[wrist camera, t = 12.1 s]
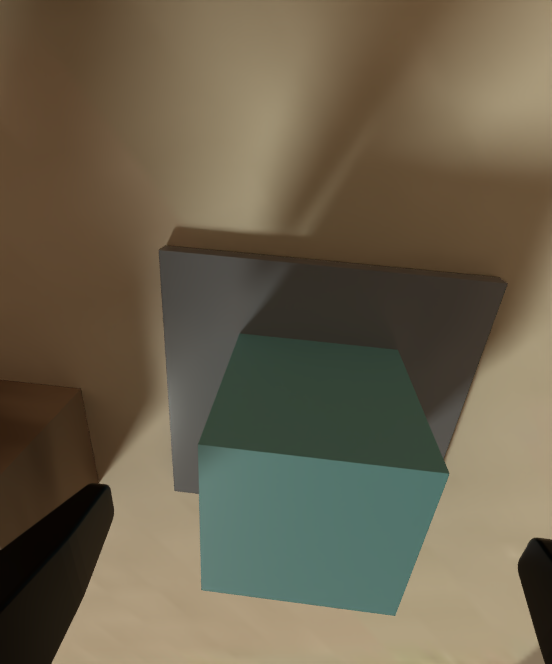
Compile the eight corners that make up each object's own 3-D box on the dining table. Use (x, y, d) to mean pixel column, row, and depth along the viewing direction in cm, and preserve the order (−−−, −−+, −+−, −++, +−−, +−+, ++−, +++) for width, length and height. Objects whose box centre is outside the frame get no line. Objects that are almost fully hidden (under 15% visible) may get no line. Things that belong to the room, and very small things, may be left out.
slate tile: (178, 480, 15) (174, 490, 14) (165, 245, 10) (158, 250, 10) (417, 509, 14) (420, 521, 14) (499, 277, 10) (507, 283, 10)
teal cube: (235, 451, 13) (201, 589, 9) (239, 333, 11) (198, 444, 7) (368, 466, 13) (395, 615, 9) (397, 349, 11) (449, 473, 7)
